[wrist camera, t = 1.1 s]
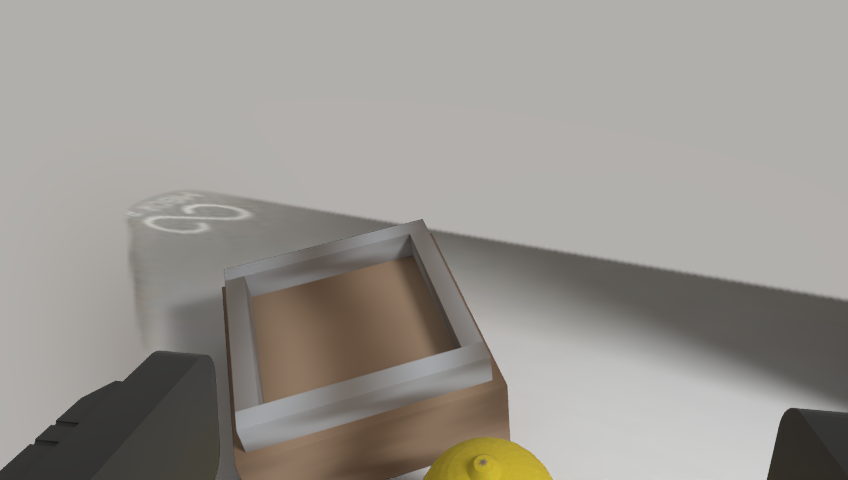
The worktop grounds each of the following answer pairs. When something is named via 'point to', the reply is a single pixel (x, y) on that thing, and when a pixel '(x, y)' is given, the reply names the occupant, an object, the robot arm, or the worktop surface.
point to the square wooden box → (355, 361)
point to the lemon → (487, 462)
